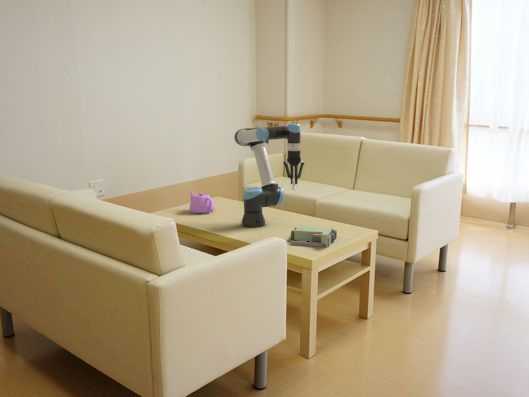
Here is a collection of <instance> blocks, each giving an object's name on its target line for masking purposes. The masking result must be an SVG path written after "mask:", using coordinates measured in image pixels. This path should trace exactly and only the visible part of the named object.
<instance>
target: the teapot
mask: <svg viewBox="0 0 529 397" xmlns="http://www.w3.org/2000/svg"><path fill="white" fill-rule="evenodd" d="M189 194H190V204H189V211H190V212H191V213H192V212H193V213H192V214H195V213H206V214H210V213H209V212H211V213H213V211H214V210H215V208H216V207H215V202H214V201H213V199H212V197H211V196H210V195H209V194H205V193H204V192H198V194H196V195H195V194H194V192H193V191H192V190H189Z"/></svg>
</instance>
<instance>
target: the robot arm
mask: <svg viewBox="0 0 529 397" xmlns="http://www.w3.org/2000/svg"><path fill="white" fill-rule="evenodd" d="M233 138H234V141H235V143H236V144H237V145H239V146H241V147H249V148H250V150H251V151H253V153H254V158H255V162H256V166H257V170H258V175H259V178H260V181H261V183H260V184H261V186H260V187H259V186H258V187H257V186H256V187H250V188H247V189H245V190H244V191H243V215H242V219H241V226H242V227H246V228H259V227H260V228H261V227H264V226H265V225H266V218H265V216H264V213H263V208H268V207H270V208H271V207H276V206H279V205H282V204H283V202H284V199H285V193H284V192H285V190H284V189H283V187H281V186H279V183H277V182H276V181H275V176H274V172H273V169H272V165H271V161H270V158H269V153H268V149H267V148H268V147H269V143H270V141H271V140H287V159H286V160H284V161H283V165H284V167H285V172H286V176H287V178H288V179H290V185H291V186H292V187H291V189H292V191H295V190H297V185H298V180H299V178H300V179H301V176H302V172H303V168H304V166H305V164H306V162H305V161H303V160H302V157H301V125H300V124H299V123H288V124H287V125H279V126H263V127H259V126H257V127H247V128H240V129H238V130H237V131H235V134H234V136H233ZM289 166H290V167H289ZM298 168H299V169H298Z"/></svg>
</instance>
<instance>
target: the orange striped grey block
mask: <svg viewBox="0 0 529 397" xmlns="http://www.w3.org/2000/svg"><path fill="white" fill-rule="evenodd" d="M312 242H318V243H321V234H314V235H313V236H312Z"/></svg>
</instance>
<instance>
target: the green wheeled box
mask: <svg viewBox="0 0 529 397" xmlns="http://www.w3.org/2000/svg"><path fill="white" fill-rule="evenodd" d="M314 234H321V243H318V242H312V236H313V235H314ZM337 235H338V232H337V229H334V227H330V226H317V225H316V226H315V225H314V226H313V225H299V226H297V227H294V229H293V230H291V232H290V239H291V240H290V245H291V244H298V245H297V246H305V245H307V247H321V248H328V247H330V246H331V244H332V243H334V242H335V240H337ZM294 240H300V241H294ZM307 241H309V242H307Z"/></svg>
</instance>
